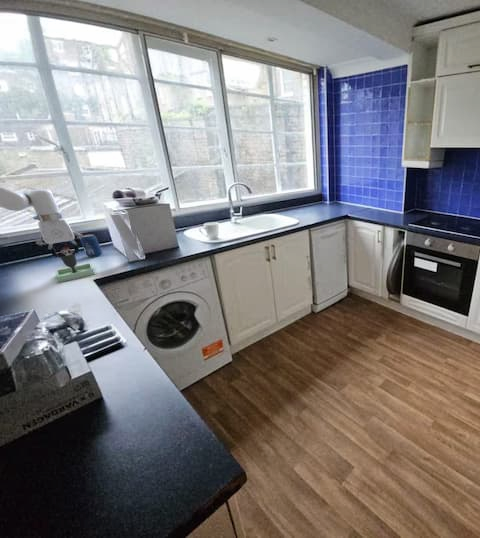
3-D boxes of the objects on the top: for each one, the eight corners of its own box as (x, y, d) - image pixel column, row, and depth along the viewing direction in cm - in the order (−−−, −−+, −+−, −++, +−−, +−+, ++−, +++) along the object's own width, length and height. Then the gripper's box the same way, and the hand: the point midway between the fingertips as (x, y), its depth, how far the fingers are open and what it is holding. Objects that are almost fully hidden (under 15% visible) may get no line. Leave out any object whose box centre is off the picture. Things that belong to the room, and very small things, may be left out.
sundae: (83, 269, 148) (71, 241, 142) (84, 273, 143) (72, 244, 137) (66, 273, 144) (52, 244, 138) (66, 277, 139) (52, 247, 133)
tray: (57, 282, 136) (55, 277, 135) (58, 275, 144) (55, 270, 143) (94, 274, 144) (92, 269, 143) (92, 267, 152) (90, 262, 151)
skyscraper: (145, 260, 160) (127, 208, 149) (127, 263, 156) (107, 211, 145) (145, 255, 167) (128, 206, 156) (127, 259, 163) (109, 208, 152)
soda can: (100, 252, 174) (92, 233, 169) (104, 254, 170) (96, 235, 166) (85, 256, 169) (77, 236, 164) (89, 258, 165) (80, 238, 160)
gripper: (22, 222, 125) (41, 261, 132) (76, 215, 136) (91, 251, 142) (23, 219, 130) (41, 257, 137) (75, 213, 141) (90, 248, 148)
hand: (66, 254), depth 140 cm, fingers closed on sundae, 6 cm apart
